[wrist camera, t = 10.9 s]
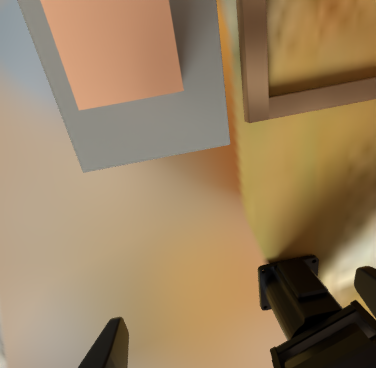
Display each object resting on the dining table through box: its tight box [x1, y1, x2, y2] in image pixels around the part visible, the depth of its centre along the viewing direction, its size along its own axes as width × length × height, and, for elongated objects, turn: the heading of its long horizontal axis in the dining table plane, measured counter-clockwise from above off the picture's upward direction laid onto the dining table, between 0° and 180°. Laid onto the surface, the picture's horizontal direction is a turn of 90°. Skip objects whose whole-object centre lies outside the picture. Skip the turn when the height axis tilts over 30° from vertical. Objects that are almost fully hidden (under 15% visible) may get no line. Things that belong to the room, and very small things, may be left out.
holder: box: [236, 0, 376, 123], centre depth 15 cm, size 11×15×1 cm
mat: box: [17, 0, 230, 172], centre depth 15 cm, size 14×12×1 cm
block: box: [40, 0, 184, 110], centre depth 12 cm, size 5×5×6 cm
